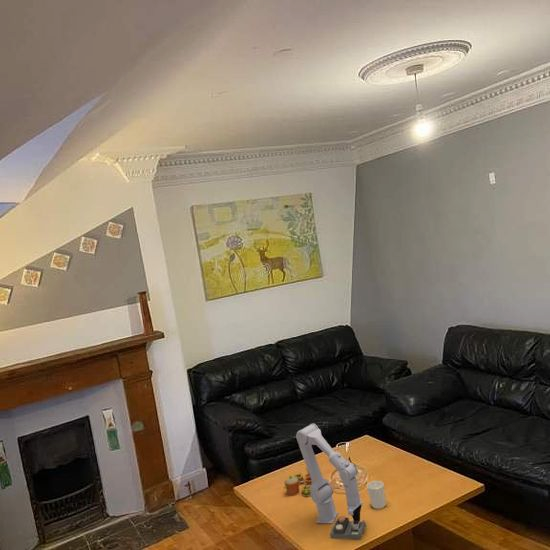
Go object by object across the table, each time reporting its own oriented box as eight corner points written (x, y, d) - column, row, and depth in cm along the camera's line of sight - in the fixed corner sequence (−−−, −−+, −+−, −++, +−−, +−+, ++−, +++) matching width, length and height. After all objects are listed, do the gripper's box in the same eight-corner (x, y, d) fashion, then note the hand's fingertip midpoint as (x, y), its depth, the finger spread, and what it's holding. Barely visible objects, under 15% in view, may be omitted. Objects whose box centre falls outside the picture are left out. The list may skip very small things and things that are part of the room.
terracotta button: (340, 520, 237) (339, 515, 237) (346, 520, 236) (345, 516, 236) (338, 523, 234) (337, 519, 234) (344, 524, 233) (344, 519, 233)
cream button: (337, 528, 232) (336, 524, 232) (344, 528, 231) (343, 524, 231) (335, 532, 230) (334, 528, 229) (342, 532, 228) (341, 528, 228)
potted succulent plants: (313, 498, 267) (310, 479, 267) (284, 499, 272) (280, 481, 271) (322, 473, 292) (319, 456, 292) (295, 475, 297) (292, 458, 296)
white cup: (367, 504, 251) (363, 484, 250) (380, 498, 254) (377, 479, 254) (376, 511, 244) (373, 490, 243) (390, 505, 247) (387, 484, 246)
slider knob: (353, 526, 231) (352, 520, 231) (360, 526, 230) (359, 520, 230) (352, 530, 229) (351, 524, 228) (359, 530, 227) (358, 524, 227)
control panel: (336, 524, 239) (335, 516, 239) (366, 526, 234) (364, 517, 234) (330, 538, 230) (329, 529, 230) (361, 539, 225) (359, 531, 224)
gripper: (357, 501, 223) (362, 532, 223) (364, 484, 236) (369, 513, 237) (341, 501, 225) (346, 531, 226) (349, 484, 239) (354, 512, 240)
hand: (357, 522), depth 232 cm, fingers closed
